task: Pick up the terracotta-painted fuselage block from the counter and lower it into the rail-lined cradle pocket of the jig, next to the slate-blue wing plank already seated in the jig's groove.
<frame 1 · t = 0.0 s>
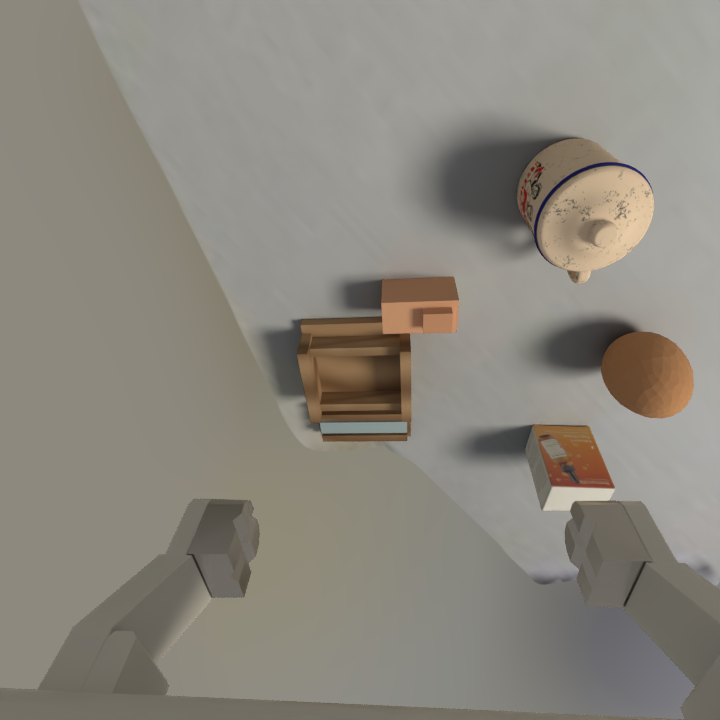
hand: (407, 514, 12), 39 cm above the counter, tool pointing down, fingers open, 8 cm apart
teacup with lid: (561, 199, 45), on the counter
wing plank: (364, 419, 64), point 1 cm above the counter, touching jig
egg: (625, 342, 55), on the counter
jig: (361, 379, 61), on the counter
small box: (555, 436, 66), on the counter
fuselage block: (417, 293, 52), on the counter
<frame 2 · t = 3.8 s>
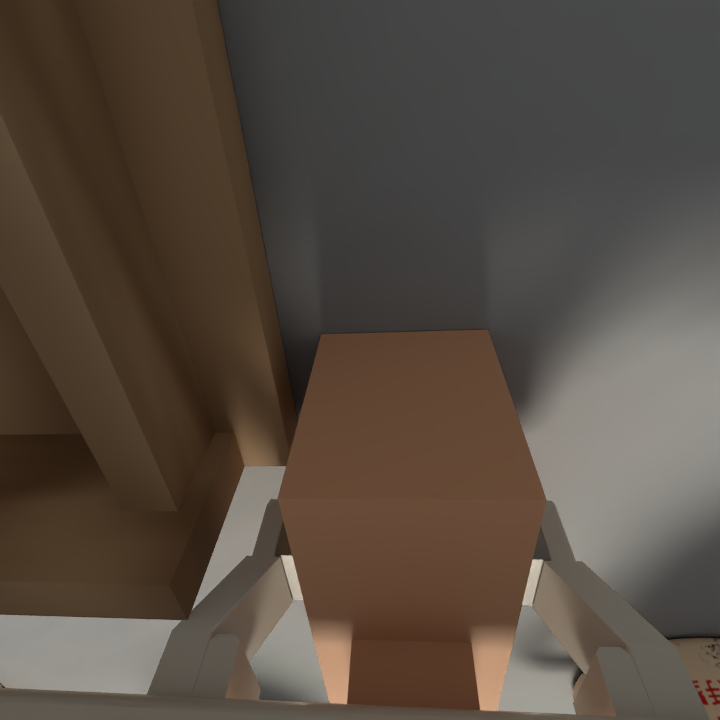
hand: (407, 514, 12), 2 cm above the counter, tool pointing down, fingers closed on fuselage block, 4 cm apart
teacup with lid: (635, 678, 20), on the counter
fuselage block: (405, 451, 13), on the counter, touching gripper
when the fingers open (5 cm above the counter, at t = 8.7 s): fuselage block drops 1 cm, resting on jig.
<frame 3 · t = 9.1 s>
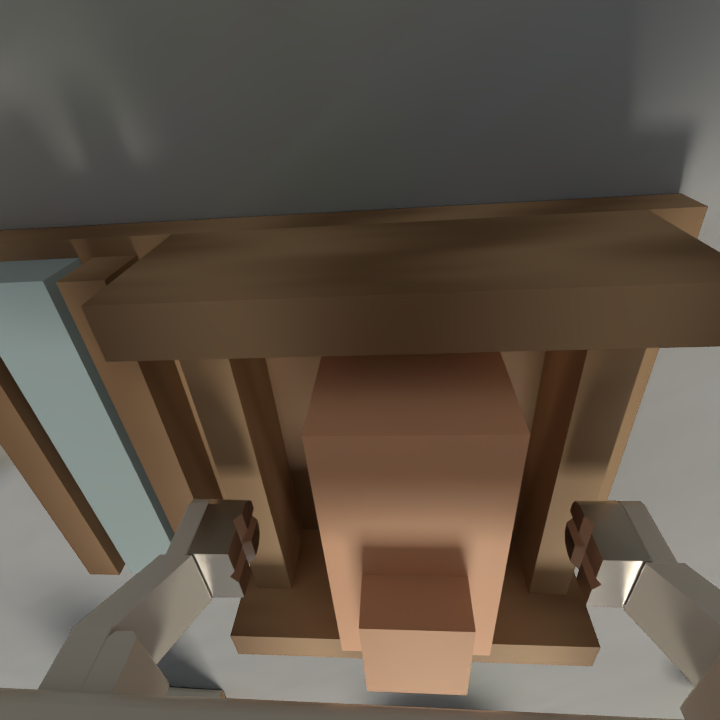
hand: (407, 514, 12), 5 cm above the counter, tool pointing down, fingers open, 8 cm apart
wing plank: (121, 429, 15), point 1 cm above the counter, touching jig
jig: (315, 403, 16), on the counter
small box: (197, 707, 32), on the counter
fuselage block: (408, 420, 14), point 1 cm above the counter, touching jig
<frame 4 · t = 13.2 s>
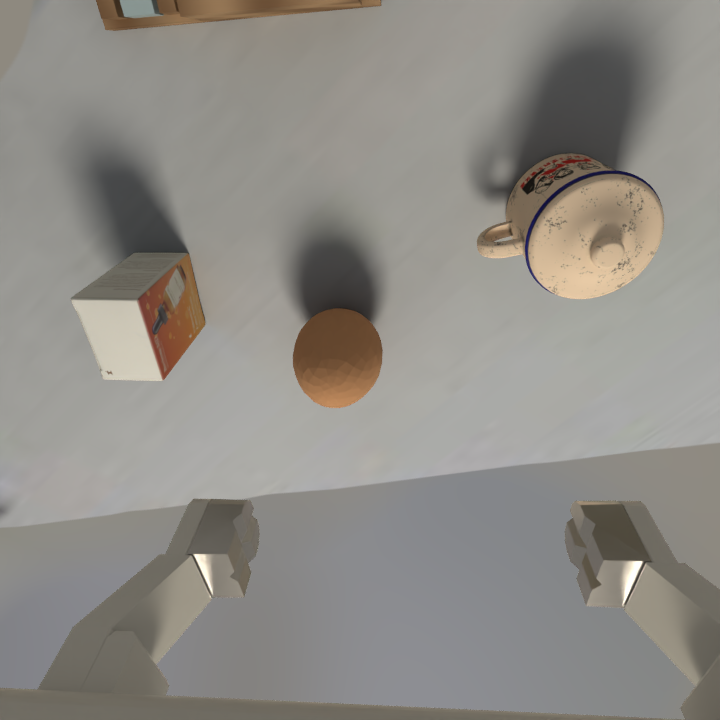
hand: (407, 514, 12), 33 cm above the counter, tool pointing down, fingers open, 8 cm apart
teacup with lid: (538, 210, 39), on the counter
egg: (343, 326, 47), on the counter
small box: (172, 288, 46), on the counter
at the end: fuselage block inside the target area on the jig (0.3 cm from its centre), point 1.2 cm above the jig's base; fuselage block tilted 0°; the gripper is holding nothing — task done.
